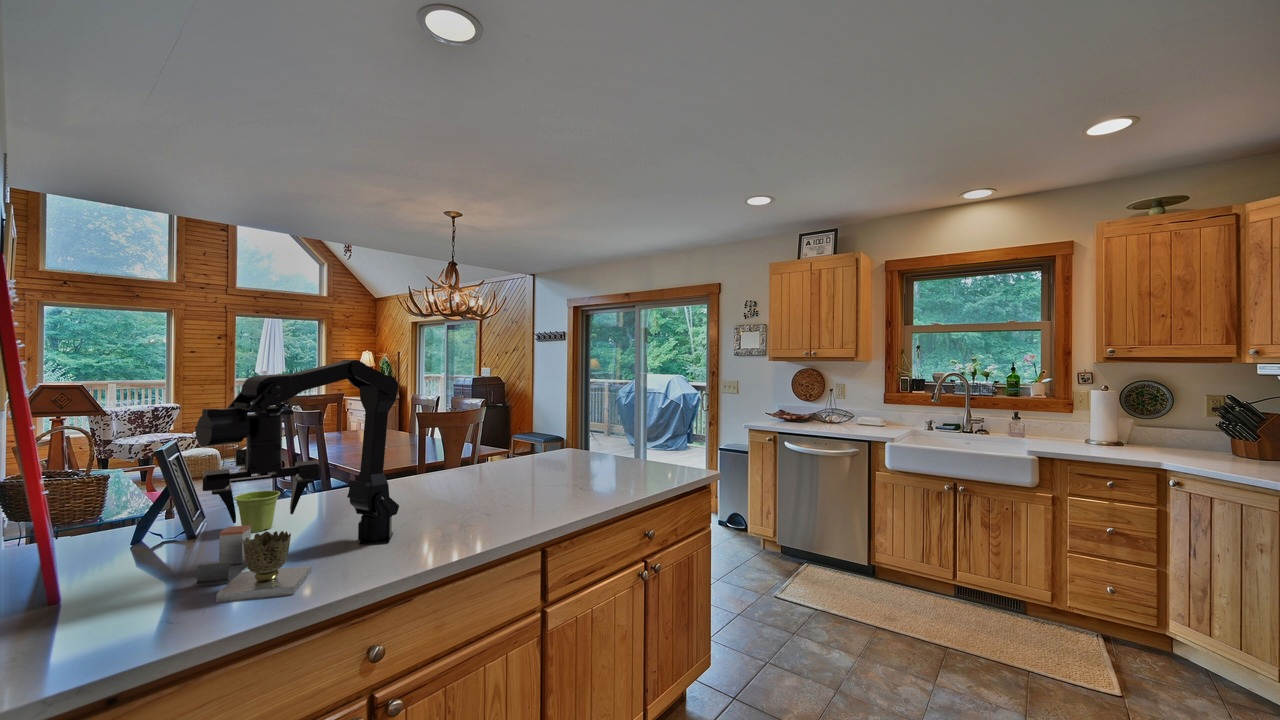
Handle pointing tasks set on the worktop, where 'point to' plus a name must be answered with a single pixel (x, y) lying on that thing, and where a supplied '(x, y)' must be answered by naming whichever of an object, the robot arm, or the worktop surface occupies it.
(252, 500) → the plant pot
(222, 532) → the small box
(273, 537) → the cup
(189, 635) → the worktop surface
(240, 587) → the flat plate
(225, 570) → the press rail
